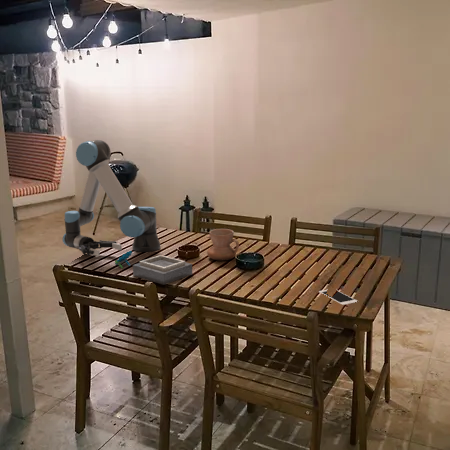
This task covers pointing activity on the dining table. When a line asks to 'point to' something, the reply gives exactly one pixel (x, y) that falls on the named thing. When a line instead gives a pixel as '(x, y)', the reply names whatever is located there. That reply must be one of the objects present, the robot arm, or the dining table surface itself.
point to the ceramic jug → (222, 244)
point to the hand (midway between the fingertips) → (110, 250)
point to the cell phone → (340, 298)
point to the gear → (123, 259)
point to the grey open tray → (162, 269)
